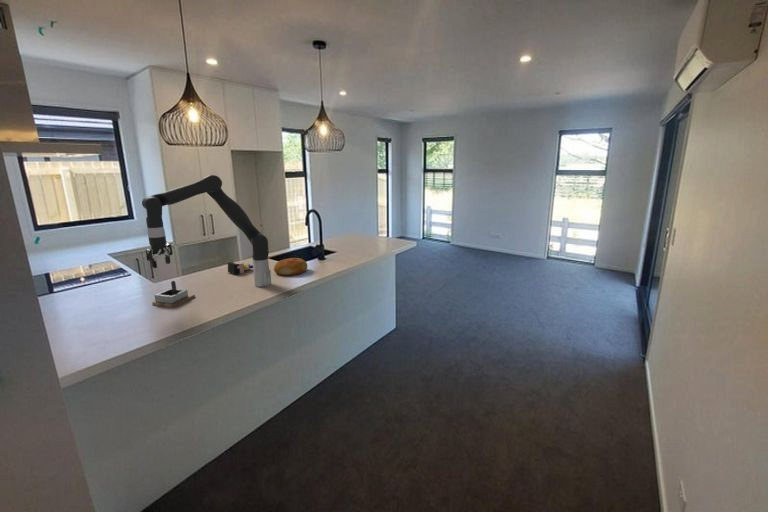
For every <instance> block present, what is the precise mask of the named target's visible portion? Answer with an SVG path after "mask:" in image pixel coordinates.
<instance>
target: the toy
mask: <svg viewBox="0 0 768 512" xmlns="http://www.w3.org/2000/svg"><path fill="white" fill-rule="evenodd" d="M250 269H253V264H249V263H244V262H240V261H228V262H227V272H228V273H229V274H232V275H238V274H244V273H245V271H248V270H250Z"/></svg>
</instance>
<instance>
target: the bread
mask: <svg viewBox="0 0 768 512" xmlns="http://www.w3.org/2000/svg"><path fill="white" fill-rule="evenodd" d="M306 270H308V262H307V261H305V260H304V259H303V258H299V257H289V258H284V259H281V260H278V261H277V262H276V263H275V264H274V267H273V271H274V273H275V274H277V275H280V276H294V275H295V276H296V275H301V274H302V273H304V272H306Z"/></svg>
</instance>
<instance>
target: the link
mask: <svg viewBox="0 0 768 512" xmlns="http://www.w3.org/2000/svg"><path fill="white" fill-rule="evenodd" d="M176 290H177V294H174V295H173V292H172V287H171V288H168V289H166V290H163V291H161V292H159V293H156V294H154V301H156V302H160V303H170V304H174V303H176V302H178V301H180V300H182V299H184V298H186V297H188V294H189V292H188V289H183V288H181V289H180V288H176Z"/></svg>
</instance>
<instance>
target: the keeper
mask: <svg viewBox="0 0 768 512" xmlns="http://www.w3.org/2000/svg"><path fill="white" fill-rule="evenodd" d="M170 284H171V288H172V292H173V295H174V294H177V290H176V289H177V284H176V281H175V280H172V281H171V282H170ZM194 298H196V295H195V294H190V293H188V297H186V298H184V299H182V300H180V301H178V302H176V303H174V304H170V303H160V302H156V301H155V300H154V301H152V302H151V303H152V305H153V306H160V307H169V308H176V307H179V306H180V305H183V304H184V303H187V302H189V301H190V300H192V299H194Z"/></svg>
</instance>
